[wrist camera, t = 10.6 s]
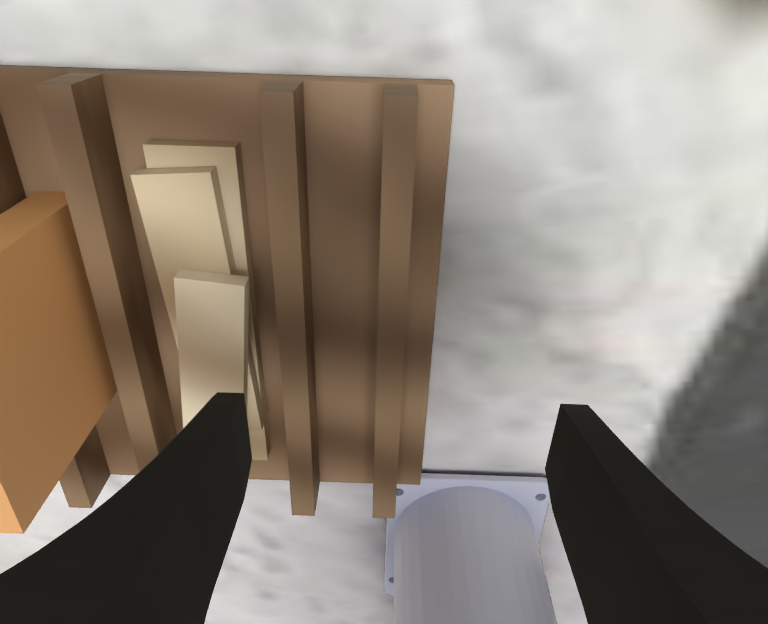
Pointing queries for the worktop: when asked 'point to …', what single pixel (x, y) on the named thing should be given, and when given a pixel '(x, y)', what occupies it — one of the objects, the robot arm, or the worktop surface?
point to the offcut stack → (206, 272)
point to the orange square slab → (45, 355)
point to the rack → (257, 255)
